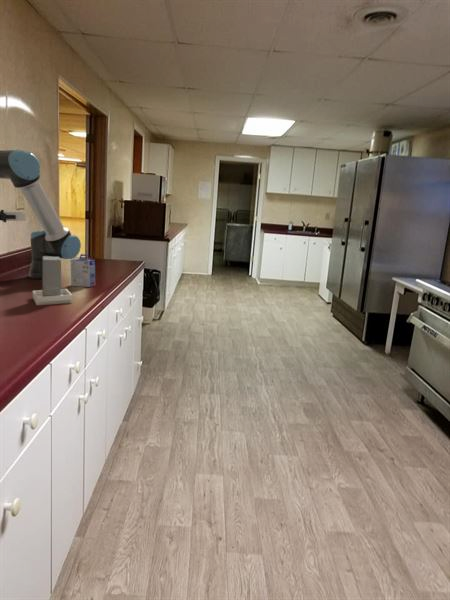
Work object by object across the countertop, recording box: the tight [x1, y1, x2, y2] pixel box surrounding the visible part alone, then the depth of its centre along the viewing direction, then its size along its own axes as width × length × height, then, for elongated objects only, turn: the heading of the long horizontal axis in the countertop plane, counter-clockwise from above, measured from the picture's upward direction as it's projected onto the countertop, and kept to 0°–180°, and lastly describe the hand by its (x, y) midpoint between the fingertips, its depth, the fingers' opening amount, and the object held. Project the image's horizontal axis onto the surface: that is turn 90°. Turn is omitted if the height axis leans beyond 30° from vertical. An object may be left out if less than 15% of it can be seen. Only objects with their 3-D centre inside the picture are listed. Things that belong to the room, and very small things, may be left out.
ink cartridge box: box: [70, 253, 96, 288], centre depth 197 cm, size 10×6×14 cm, turn 78°
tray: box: [32, 288, 74, 306], centre depth 168 cm, size 13×13×3 cm
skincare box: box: [41, 256, 62, 297], centre depth 166 cm, size 8×7×16 cm
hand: (24, 216), depth 166 cm, fingers open, 13 cm apart
